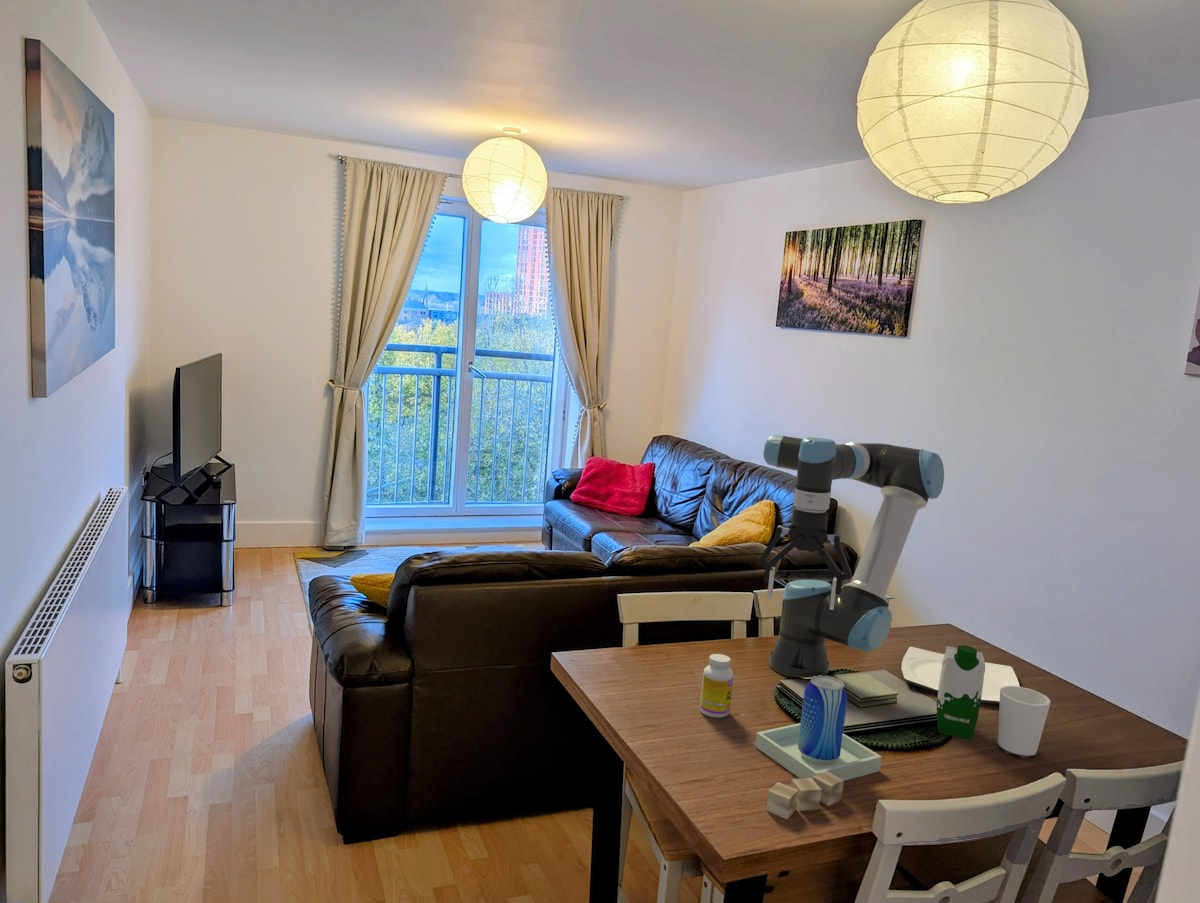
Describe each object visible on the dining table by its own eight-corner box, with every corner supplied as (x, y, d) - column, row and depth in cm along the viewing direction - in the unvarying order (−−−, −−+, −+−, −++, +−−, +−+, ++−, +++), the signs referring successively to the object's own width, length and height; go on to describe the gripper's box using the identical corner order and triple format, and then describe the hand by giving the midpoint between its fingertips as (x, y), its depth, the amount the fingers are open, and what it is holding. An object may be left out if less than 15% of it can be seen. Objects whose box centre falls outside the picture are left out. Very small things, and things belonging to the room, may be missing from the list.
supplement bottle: (728, 721, 191) (734, 665, 189) (698, 716, 192) (703, 661, 190) (730, 708, 197) (735, 654, 195) (701, 703, 198) (706, 650, 197)
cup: (1039, 767, 181) (1048, 709, 179) (988, 752, 186) (997, 696, 184) (1043, 749, 189) (1052, 694, 187) (995, 735, 194) (1003, 681, 192)
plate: (897, 689, 216) (898, 679, 216) (903, 653, 243) (904, 643, 242) (1023, 717, 206) (1024, 706, 206) (1015, 675, 232) (1017, 666, 232)
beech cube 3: (775, 802, 159) (777, 781, 159) (795, 810, 157) (798, 790, 156) (766, 811, 156) (768, 790, 155) (787, 819, 154) (789, 799, 153)
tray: (817, 732, 189) (819, 718, 188) (879, 771, 174) (881, 756, 173) (754, 746, 180) (756, 732, 179) (814, 788, 165) (816, 773, 164)
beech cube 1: (823, 790, 165) (825, 770, 164) (841, 800, 162) (843, 780, 161) (810, 796, 162) (813, 776, 162) (828, 806, 159) (830, 786, 159)
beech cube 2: (808, 797, 162) (811, 777, 161) (819, 809, 158) (821, 789, 157) (789, 799, 161) (791, 779, 160) (798, 811, 157) (801, 790, 156)
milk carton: (934, 734, 192) (946, 648, 189) (932, 717, 201) (944, 635, 198) (976, 743, 189) (990, 656, 186) (973, 726, 198) (986, 642, 195)
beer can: (791, 745, 180) (800, 672, 178) (830, 746, 181) (839, 674, 179) (804, 766, 172) (814, 690, 170) (845, 767, 173) (855, 691, 170)
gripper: (750, 504, 189) (741, 597, 193) (869, 520, 181) (857, 617, 184) (756, 498, 196) (747, 588, 200) (871, 513, 188) (859, 607, 191)
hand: (800, 602), depth 192 cm, fingers open, 13 cm apart
